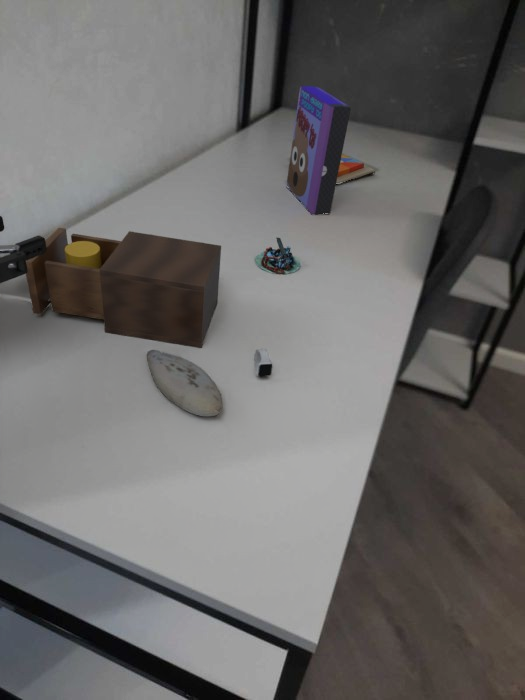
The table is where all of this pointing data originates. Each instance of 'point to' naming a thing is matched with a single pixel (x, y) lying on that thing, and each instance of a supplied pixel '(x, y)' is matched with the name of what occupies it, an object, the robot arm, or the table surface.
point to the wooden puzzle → (351, 169)
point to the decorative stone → (185, 383)
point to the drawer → (67, 278)
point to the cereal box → (317, 148)
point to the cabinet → (160, 288)
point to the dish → (278, 260)
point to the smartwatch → (263, 362)
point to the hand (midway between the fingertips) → (22, 232)
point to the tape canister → (83, 254)
